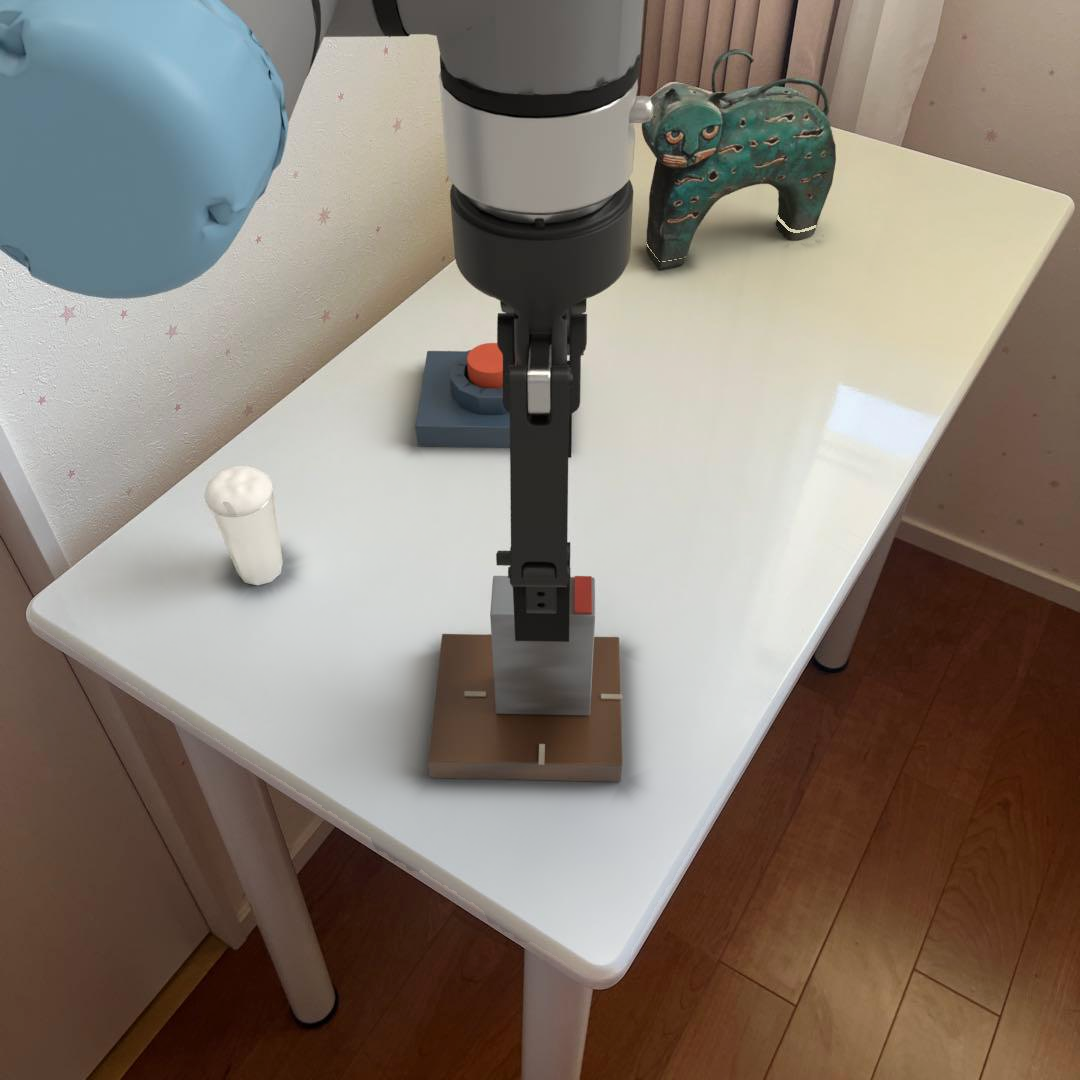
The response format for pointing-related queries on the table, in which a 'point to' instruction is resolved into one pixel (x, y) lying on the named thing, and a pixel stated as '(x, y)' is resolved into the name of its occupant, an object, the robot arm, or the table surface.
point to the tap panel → (521, 722)
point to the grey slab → (543, 657)
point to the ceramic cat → (734, 157)
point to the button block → (458, 406)
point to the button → (486, 366)
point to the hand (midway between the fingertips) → (545, 537)
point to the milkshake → (247, 521)
